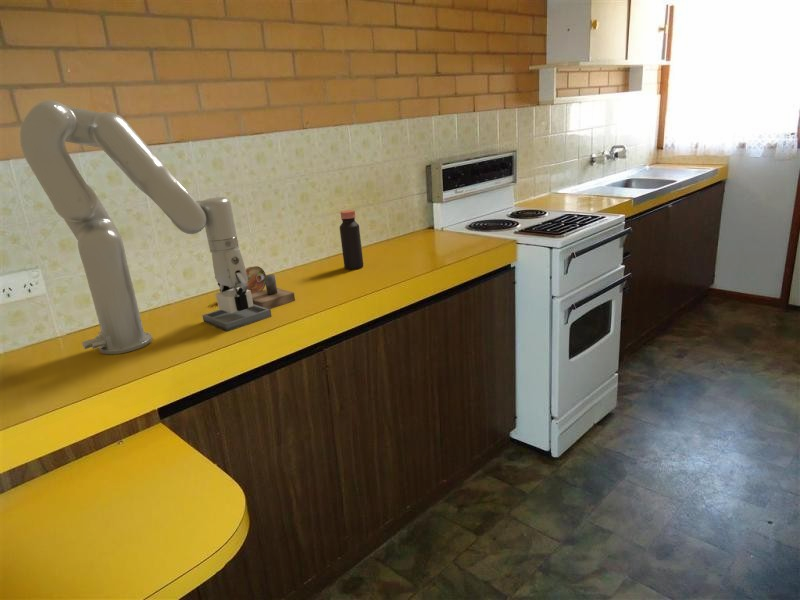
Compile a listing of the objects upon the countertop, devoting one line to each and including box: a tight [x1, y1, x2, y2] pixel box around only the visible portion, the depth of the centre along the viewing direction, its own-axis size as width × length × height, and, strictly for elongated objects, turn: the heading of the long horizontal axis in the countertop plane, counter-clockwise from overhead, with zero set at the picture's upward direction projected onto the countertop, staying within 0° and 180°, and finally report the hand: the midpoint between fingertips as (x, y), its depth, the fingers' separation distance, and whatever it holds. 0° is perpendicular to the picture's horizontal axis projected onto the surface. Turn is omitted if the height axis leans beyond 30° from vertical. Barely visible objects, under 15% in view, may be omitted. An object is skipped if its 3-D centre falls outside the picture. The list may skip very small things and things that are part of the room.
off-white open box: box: [215, 287, 253, 313], centre depth 158 cm, size 7×7×4 cm
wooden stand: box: [251, 273, 296, 310], centre depth 171 cm, size 11×11×8 cm
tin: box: [231, 265, 267, 294], centre depth 181 cm, size 15×3×8 cm, turn 148°
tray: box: [201, 304, 272, 332], centre depth 159 cm, size 14×14×2 cm
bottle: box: [339, 209, 364, 271], centre depth 200 cm, size 7×7×20 cm
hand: (235, 306), depth 159 cm, fingers closed on off-white open box, 6 cm apart
